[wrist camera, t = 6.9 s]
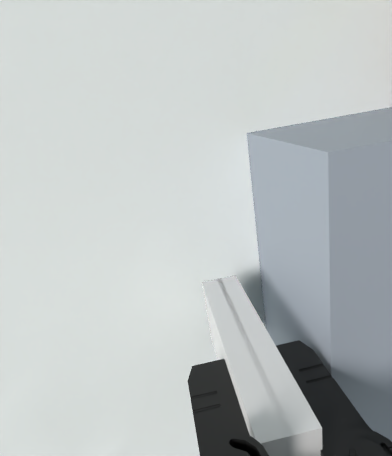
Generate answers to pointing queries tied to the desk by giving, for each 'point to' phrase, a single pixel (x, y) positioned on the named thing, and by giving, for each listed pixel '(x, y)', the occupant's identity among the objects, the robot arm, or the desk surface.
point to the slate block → (330, 248)
